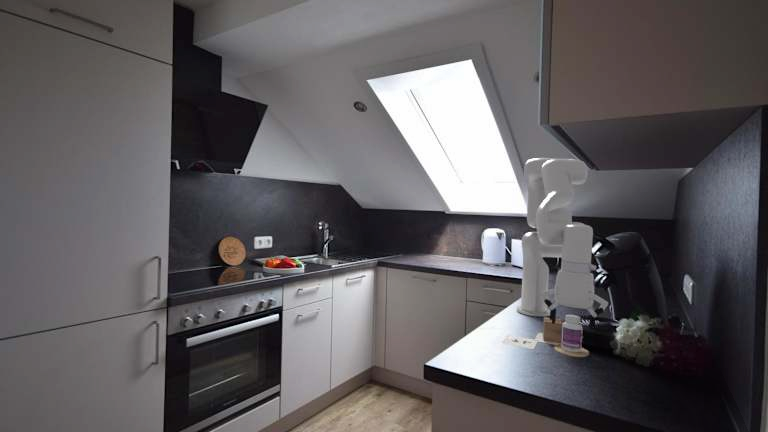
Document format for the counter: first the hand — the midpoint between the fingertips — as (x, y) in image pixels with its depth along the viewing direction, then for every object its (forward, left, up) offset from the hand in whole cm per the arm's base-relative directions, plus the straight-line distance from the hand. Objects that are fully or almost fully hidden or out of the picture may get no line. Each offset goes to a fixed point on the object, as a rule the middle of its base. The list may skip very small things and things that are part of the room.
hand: (571, 325), depth 112 cm
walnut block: (-6, -6, -7) cm, 11 cm away
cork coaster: (+1, 0, -7) cm, 7 cm away
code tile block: (-6, -6, -7) cm, 11 cm away
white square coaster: (+2, -14, -7) cm, 16 cm away
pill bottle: (+1, 0, -7) cm, 7 cm away
